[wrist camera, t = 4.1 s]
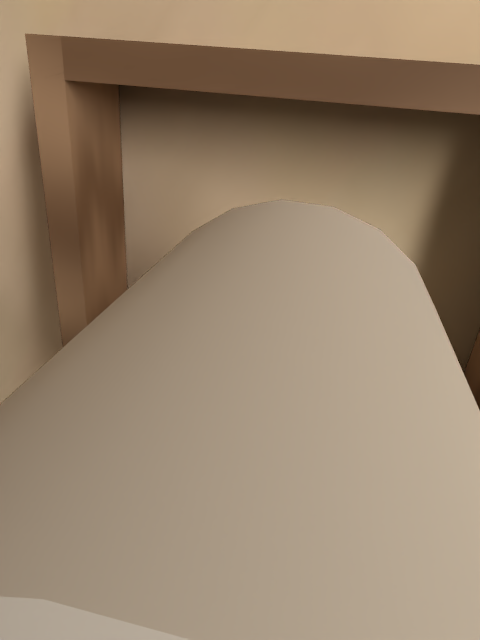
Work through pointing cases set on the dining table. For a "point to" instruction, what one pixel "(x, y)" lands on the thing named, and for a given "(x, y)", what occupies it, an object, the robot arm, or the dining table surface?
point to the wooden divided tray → (195, 75)
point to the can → (248, 450)
